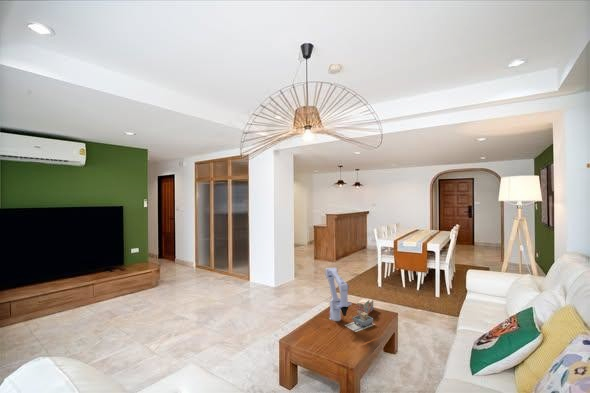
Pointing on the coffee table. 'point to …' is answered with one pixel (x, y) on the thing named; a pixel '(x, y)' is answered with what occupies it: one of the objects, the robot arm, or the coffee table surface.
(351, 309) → the coffee table surface
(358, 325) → the track board
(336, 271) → the robot arm
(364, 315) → the maple block
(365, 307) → the multicoloured piece
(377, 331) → the coffee table surface
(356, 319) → the grey storage bin
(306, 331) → the coffee table surface
